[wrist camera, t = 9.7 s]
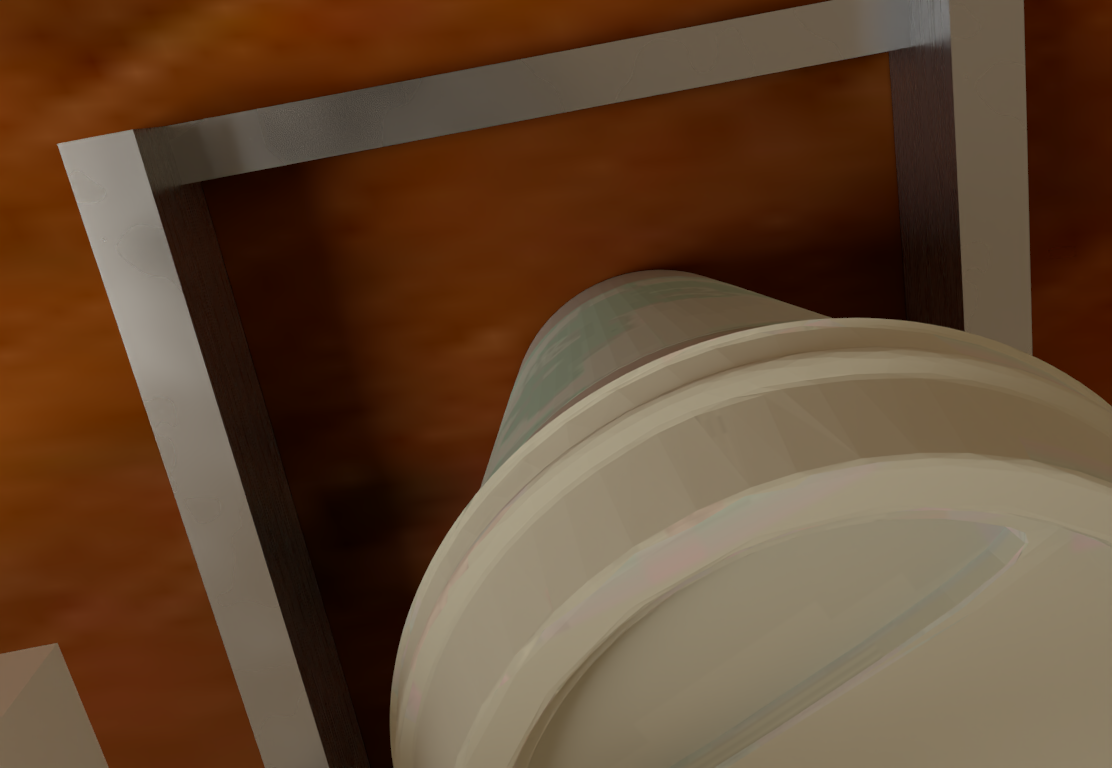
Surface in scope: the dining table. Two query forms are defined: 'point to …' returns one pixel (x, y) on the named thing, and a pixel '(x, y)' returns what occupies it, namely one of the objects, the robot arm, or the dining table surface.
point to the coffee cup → (770, 550)
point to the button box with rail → (466, 104)
